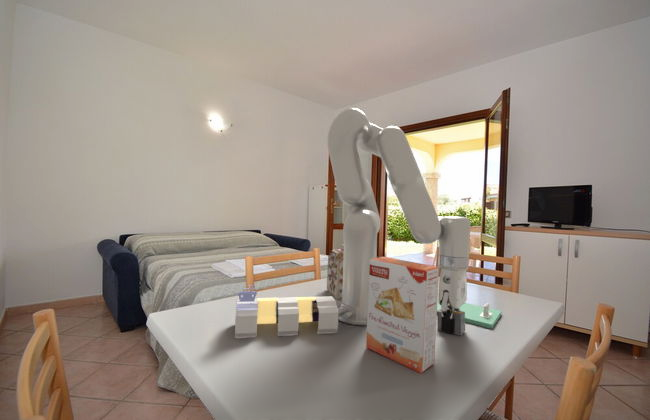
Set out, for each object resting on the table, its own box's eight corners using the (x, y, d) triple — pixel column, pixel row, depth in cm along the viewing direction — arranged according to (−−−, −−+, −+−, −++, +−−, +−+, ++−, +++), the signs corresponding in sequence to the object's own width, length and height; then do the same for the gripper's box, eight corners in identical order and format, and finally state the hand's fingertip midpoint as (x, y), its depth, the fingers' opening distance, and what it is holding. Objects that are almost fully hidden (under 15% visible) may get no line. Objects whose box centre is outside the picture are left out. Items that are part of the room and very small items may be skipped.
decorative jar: (326, 289, 116) (327, 242, 115) (354, 288, 119) (356, 242, 119) (336, 299, 104) (338, 247, 104) (367, 297, 108) (369, 247, 107)
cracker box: (364, 349, 69) (368, 257, 69) (379, 341, 73) (383, 255, 73) (421, 375, 59) (426, 269, 59) (435, 364, 63) (440, 265, 63)
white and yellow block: (234, 341, 71) (236, 286, 71) (237, 324, 81) (239, 275, 81) (337, 335, 76) (339, 284, 76) (328, 320, 86) (330, 274, 86)
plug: (461, 335, 78) (460, 315, 78) (437, 330, 82) (437, 310, 82) (465, 330, 81) (464, 311, 81) (442, 325, 85) (441, 307, 85)
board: (491, 328, 84) (492, 313, 84) (424, 311, 96) (425, 298, 96) (501, 314, 95) (502, 301, 95) (440, 300, 107) (440, 289, 107)
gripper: (459, 268, 72) (455, 344, 73) (475, 260, 85) (472, 324, 86) (428, 264, 77) (425, 335, 77) (448, 256, 90) (445, 317, 90)
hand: (450, 329), depth 82 cm, fingers closed on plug, 3 cm apart
